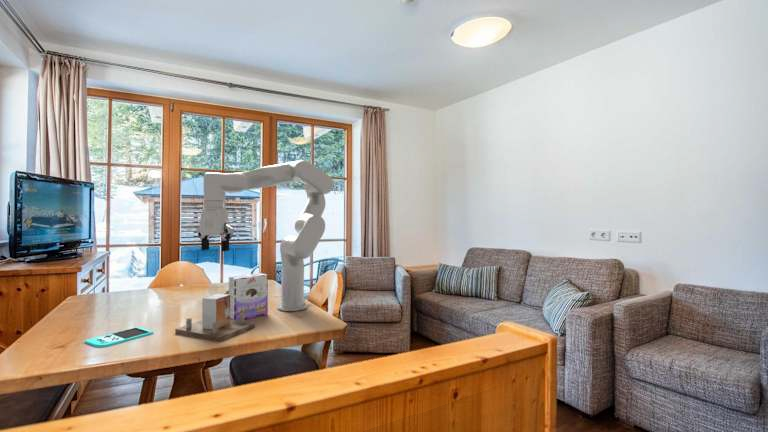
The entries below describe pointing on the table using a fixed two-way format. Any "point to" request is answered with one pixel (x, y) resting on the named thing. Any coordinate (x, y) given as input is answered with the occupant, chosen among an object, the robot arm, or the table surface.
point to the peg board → (221, 330)
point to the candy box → (248, 295)
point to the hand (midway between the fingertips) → (215, 250)
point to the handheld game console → (118, 337)
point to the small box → (215, 310)
